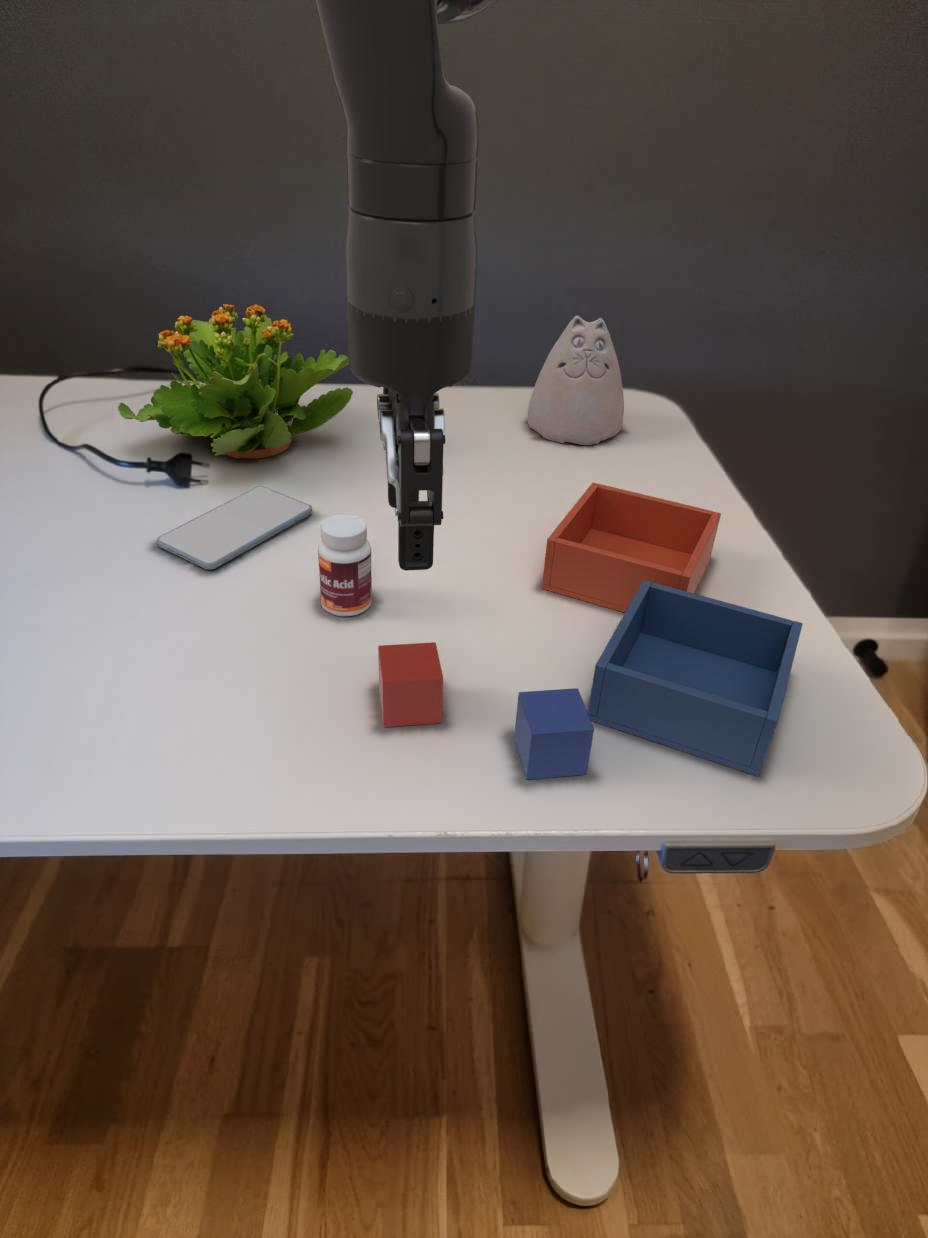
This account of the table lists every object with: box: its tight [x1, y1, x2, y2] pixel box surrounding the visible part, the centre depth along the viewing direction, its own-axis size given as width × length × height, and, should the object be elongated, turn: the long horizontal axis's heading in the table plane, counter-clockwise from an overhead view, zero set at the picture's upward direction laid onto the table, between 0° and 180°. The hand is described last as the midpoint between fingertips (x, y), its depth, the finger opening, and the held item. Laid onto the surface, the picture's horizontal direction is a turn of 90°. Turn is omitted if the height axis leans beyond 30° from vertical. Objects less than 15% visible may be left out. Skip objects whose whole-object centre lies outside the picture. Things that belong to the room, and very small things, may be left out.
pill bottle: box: [317, 513, 373, 617], centre depth 78 cm, size 5×5×8 cm
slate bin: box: [587, 580, 803, 777], centre depth 70 cm, size 14×14×6 cm
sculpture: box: [527, 315, 625, 446], centre depth 112 cm, size 13×12×15 cm
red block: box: [377, 641, 444, 728], centre depth 68 cm, size 5×5×5 cm
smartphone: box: [156, 485, 313, 570], centre depth 90 cm, size 8×1×15 cm
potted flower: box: [117, 303, 354, 460], centre depth 103 cm, size 25×24×18 cm
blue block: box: [513, 687, 595, 780], centre depth 64 cm, size 5×5×5 cm
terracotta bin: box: [541, 482, 722, 613], centre depth 85 cm, size 14×14×6 cm
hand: (409, 534), depth 60 cm, fingers open, 8 cm apart
